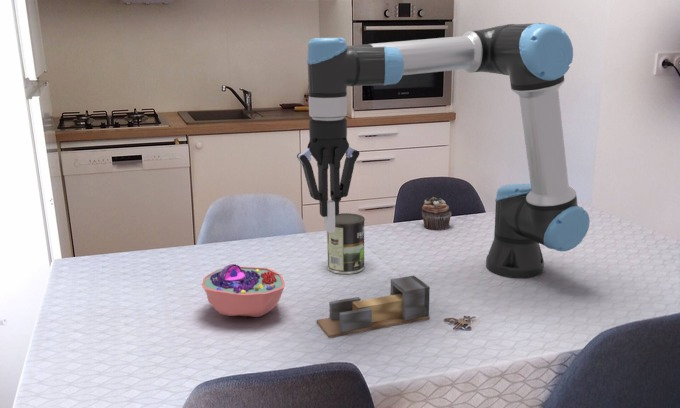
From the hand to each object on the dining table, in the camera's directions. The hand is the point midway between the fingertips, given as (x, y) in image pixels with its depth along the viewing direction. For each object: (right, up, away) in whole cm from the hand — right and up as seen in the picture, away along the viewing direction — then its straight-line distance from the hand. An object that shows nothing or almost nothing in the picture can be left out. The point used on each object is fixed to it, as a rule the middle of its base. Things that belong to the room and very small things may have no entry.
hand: (329, 230), depth 133 cm
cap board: (+10, -21, +9) cm, 25 cm away
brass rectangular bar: (+12, -20, +10) cm, 25 cm away
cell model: (-20, -20, +14) cm, 31 cm away
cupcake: (+34, -2, +76) cm, 83 cm away
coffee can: (+4, -12, +41) cm, 43 cm away
